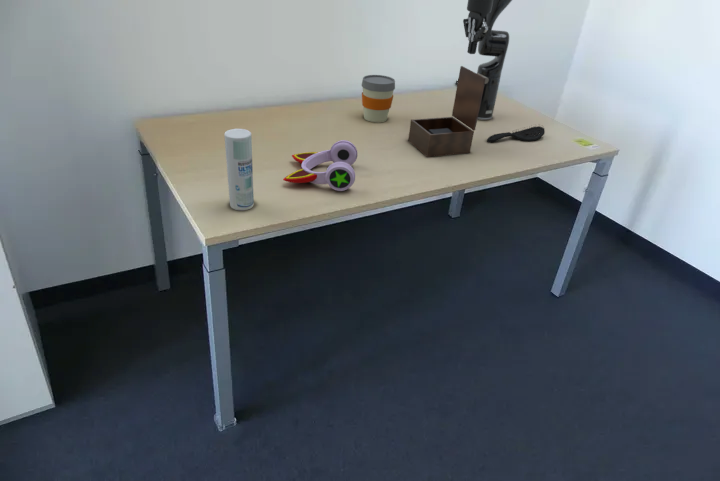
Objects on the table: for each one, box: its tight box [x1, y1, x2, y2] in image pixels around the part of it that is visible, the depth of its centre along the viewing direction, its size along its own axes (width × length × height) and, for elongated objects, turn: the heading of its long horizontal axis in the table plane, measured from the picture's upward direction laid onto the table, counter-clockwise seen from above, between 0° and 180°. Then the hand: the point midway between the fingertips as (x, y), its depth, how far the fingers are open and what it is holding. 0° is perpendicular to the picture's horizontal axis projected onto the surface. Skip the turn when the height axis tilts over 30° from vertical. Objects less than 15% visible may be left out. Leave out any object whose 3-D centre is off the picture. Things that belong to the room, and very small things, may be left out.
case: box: [407, 116, 475, 158], centre depth 182 cm, size 17×15×8 cm
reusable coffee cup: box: [361, 74, 396, 123], centre depth 201 cm, size 13×13×15 cm
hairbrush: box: [486, 123, 546, 143], centre depth 196 cm, size 8×4×25 cm
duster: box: [428, 128, 452, 134], centre depth 183 cm, size 8×4×5 cm, turn 112°
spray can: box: [223, 128, 255, 211], centre depth 135 cm, size 6×6×20 cm
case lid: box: [451, 65, 489, 131], centre depth 179 cm, size 17×15×5 cm
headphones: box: [283, 139, 358, 192], centre depth 156 cm, size 20×10×20 cm
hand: (471, 53), depth 170 cm, fingers closed
